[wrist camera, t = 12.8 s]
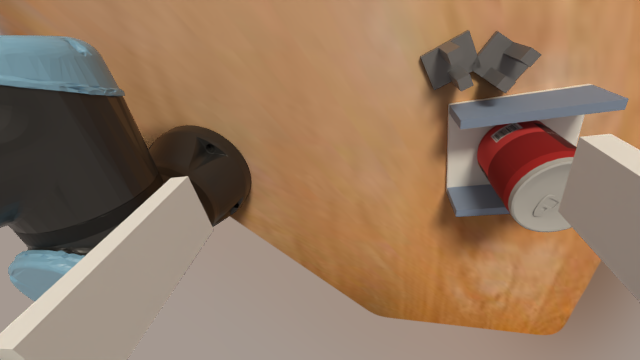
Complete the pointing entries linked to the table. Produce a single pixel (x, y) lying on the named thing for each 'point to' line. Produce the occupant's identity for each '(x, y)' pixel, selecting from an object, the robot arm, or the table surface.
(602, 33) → the table surface
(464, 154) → the holder
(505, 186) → the canned food
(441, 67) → the clip
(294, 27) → the table surface
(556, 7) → the table surface
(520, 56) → the clip
